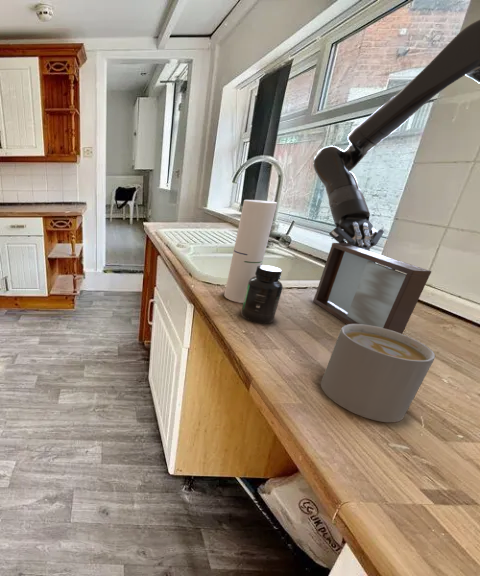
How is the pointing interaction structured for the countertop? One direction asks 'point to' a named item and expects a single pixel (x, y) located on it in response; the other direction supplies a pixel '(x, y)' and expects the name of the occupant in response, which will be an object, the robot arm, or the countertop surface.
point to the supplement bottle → (262, 295)
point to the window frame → (375, 290)
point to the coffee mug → (375, 371)
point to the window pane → (346, 280)
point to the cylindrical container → (249, 246)
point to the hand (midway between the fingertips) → (365, 261)
